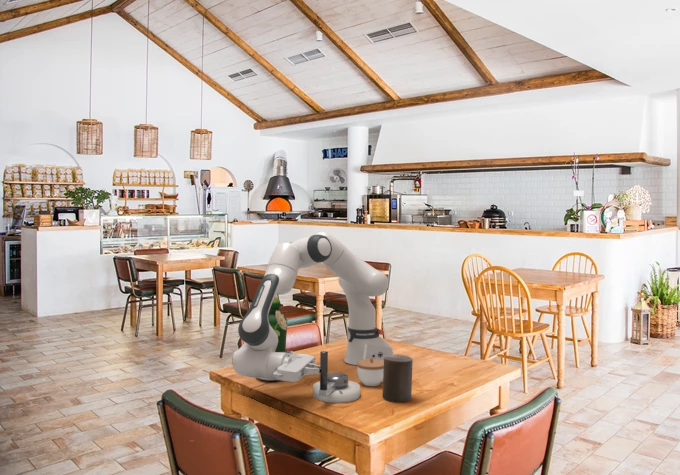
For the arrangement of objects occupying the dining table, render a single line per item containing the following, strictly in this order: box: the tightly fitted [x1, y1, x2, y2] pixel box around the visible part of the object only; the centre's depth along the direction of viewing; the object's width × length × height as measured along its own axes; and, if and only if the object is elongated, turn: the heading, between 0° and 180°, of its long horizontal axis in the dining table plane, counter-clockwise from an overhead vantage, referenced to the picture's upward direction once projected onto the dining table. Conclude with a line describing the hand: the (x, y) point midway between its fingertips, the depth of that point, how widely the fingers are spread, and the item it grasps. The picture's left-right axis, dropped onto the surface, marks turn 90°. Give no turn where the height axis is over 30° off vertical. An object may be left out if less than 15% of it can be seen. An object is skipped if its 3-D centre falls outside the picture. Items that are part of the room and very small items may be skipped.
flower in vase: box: [259, 310, 288, 381], centre depth 215 cm, size 13×11×25 cm
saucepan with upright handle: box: [319, 350, 349, 397], centre depth 192 cm, size 17×8×14 cm, turn 160°
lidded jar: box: [356, 358, 384, 387], centre depth 210 cm, size 11×11×9 cm
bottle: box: [268, 296, 288, 352], centre depth 229 cm, size 11×11×28 cm
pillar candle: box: [382, 353, 413, 403], centre depth 195 cm, size 10×10×15 cm
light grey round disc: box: [312, 380, 361, 404], centre depth 197 cm, size 16×16×3 cm
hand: (320, 370), depth 186 cm, fingers closed
